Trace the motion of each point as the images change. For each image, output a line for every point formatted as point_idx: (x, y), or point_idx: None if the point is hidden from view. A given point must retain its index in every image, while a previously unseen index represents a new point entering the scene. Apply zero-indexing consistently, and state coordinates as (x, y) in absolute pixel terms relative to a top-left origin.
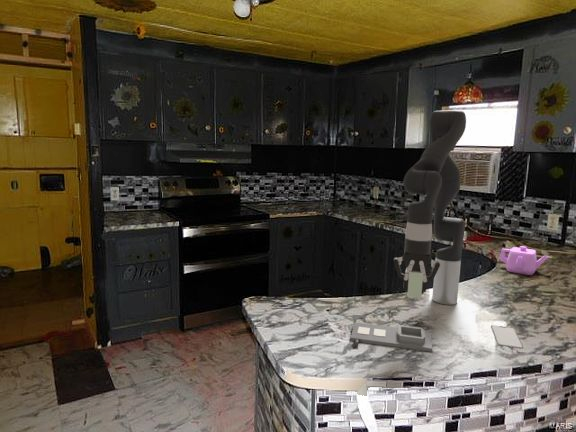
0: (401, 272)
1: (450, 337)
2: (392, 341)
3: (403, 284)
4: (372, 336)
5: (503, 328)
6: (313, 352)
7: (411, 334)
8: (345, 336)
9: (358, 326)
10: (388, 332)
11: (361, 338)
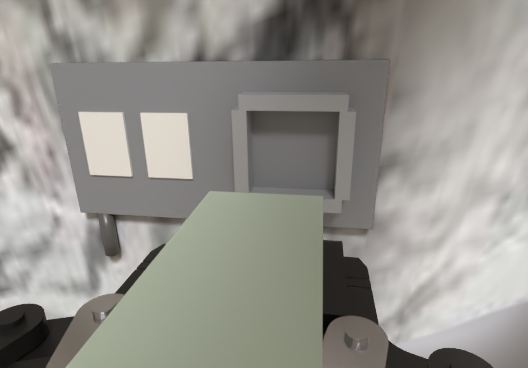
0: (11, 362)
1: (491, 60)
2: None
3: (139, 267)
4: (147, 183)
5: None
6: (22, 298)
7: (298, 121)
8: (63, 179)
9: (77, 105)
10: (201, 129)
11: (115, 210)
